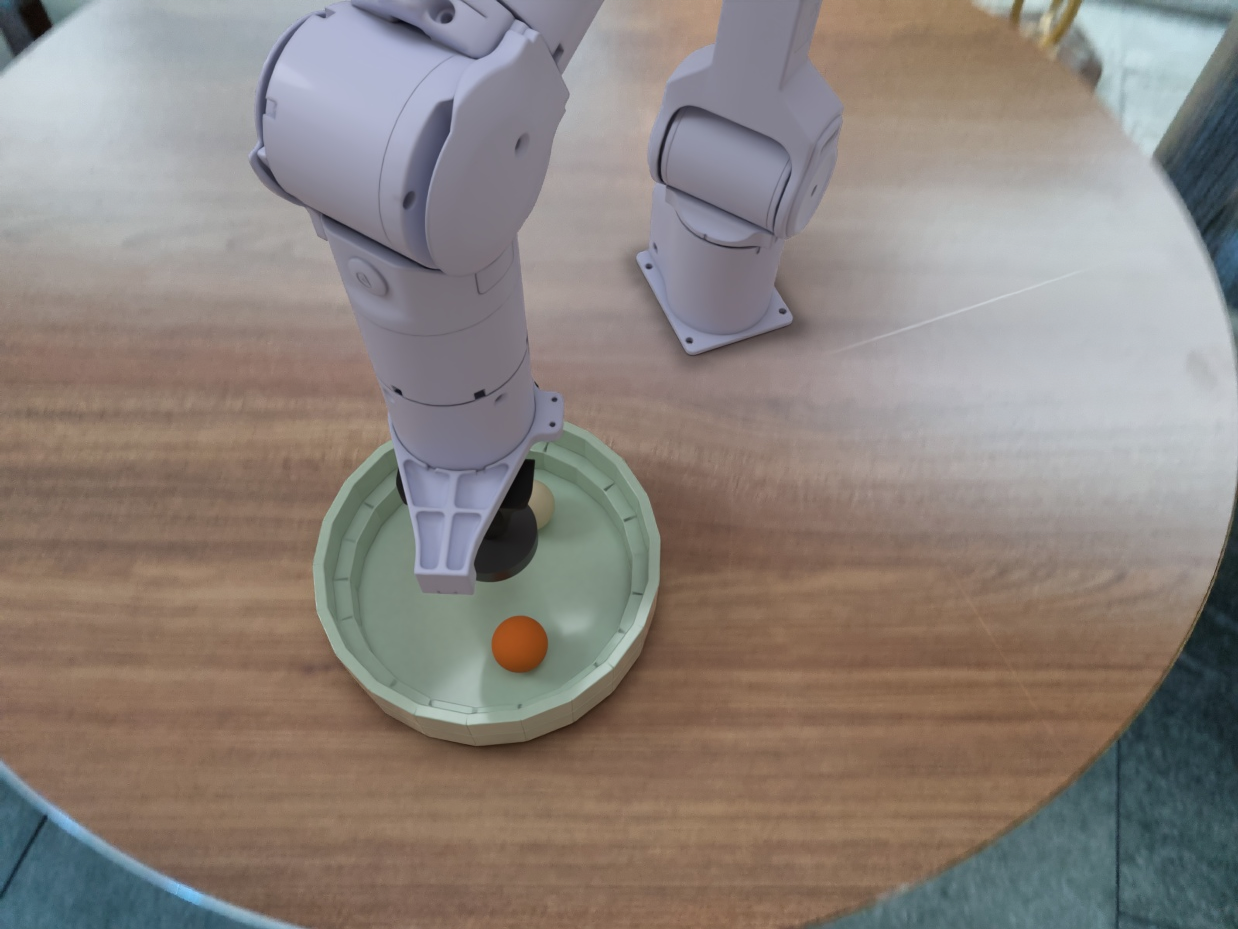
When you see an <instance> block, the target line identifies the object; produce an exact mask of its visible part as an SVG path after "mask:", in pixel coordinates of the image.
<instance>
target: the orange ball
mask: <svg viewBox="0 0 1238 929" xmlns="http://www.w3.org/2000/svg"><path fill="white" fill-rule="evenodd" d="M491 647H492V653H493V655H494V658H495V659H496V661H497V662H498V664H499V665H500V666H501V667H503V668H504V669H506V670H508V671H511V672H515V673H523V672H528V671H530V670H533V669H534V668H536V667H537V666H538V665H539V664H540V663H541V662H542V661H543V659H544V657H545V655H546V653H547V649H548V638H547V635H546V632H545V630H544V628H543V627H542V626H541V624H540V623H539V622H537V621H536V620H535V619H533V618H530V617H527V616H513V617H510V618H508V619H506V620H504V621H503V622H502V623H501V624H500V625H499V626H498V627H497V628H496V630H495V632H494V634H493V637H492V642H491Z"/></svg>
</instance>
